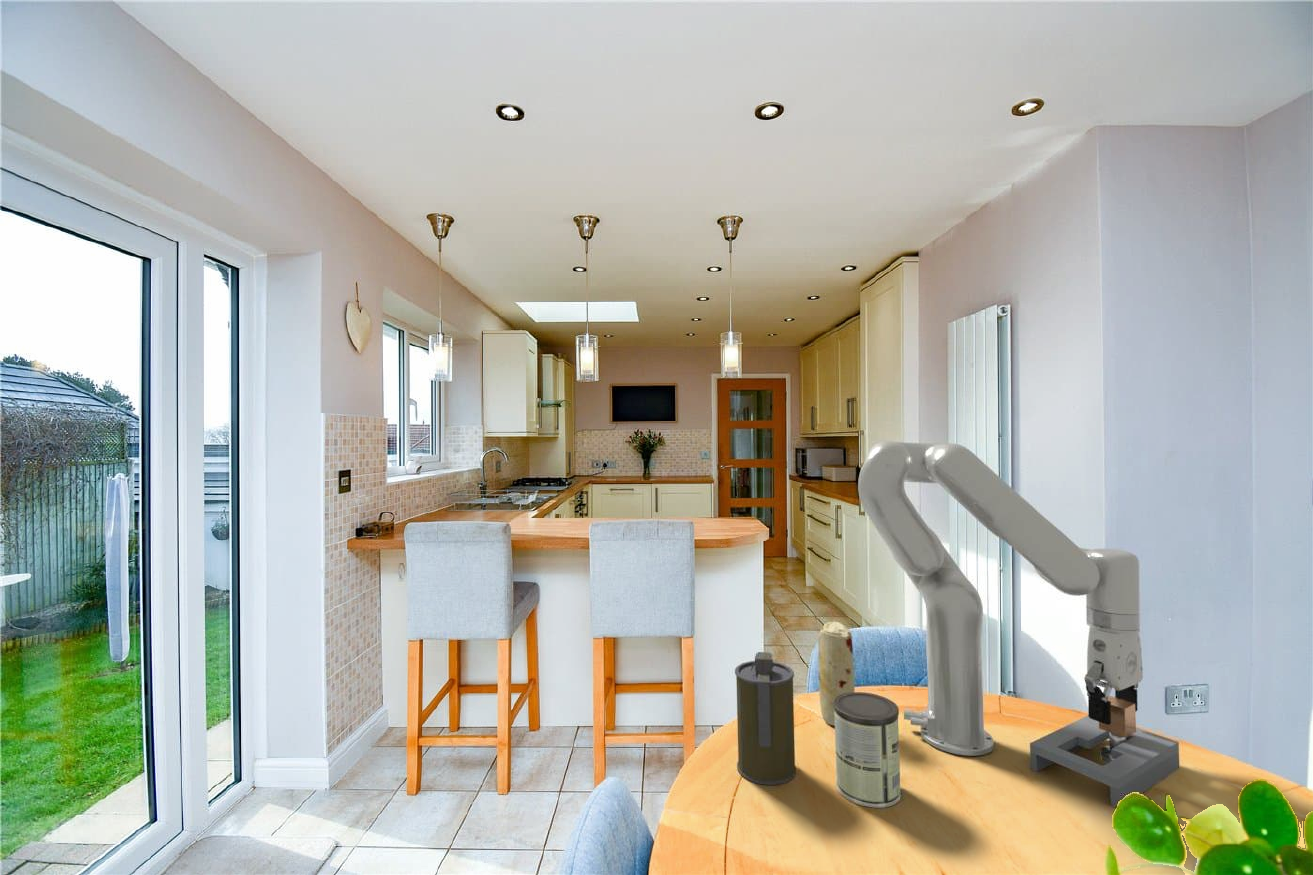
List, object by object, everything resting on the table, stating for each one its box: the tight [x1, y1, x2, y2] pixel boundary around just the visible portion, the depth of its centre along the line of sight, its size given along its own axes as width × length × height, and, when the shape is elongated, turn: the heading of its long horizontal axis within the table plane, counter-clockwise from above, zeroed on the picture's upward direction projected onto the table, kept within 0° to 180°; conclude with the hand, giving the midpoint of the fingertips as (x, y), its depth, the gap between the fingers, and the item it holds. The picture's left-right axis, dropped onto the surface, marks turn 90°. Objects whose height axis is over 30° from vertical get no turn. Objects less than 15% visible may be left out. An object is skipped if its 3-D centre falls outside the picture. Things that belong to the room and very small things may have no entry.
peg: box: [1099, 695, 1137, 764], centre depth 103 cm, size 5×5×10 cm
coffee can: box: [833, 691, 902, 809], centre depth 97 cm, size 10×10×14 cm
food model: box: [817, 621, 855, 727], centre depth 121 cm, size 10×7×20 cm
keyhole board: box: [1029, 715, 1180, 808], centre depth 101 cm, size 22×13×4 cm, turn 119°
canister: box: [734, 651, 797, 786], centre depth 103 cm, size 11×10×20 cm
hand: (1113, 714), depth 104 cm, fingers open, 9 cm apart
